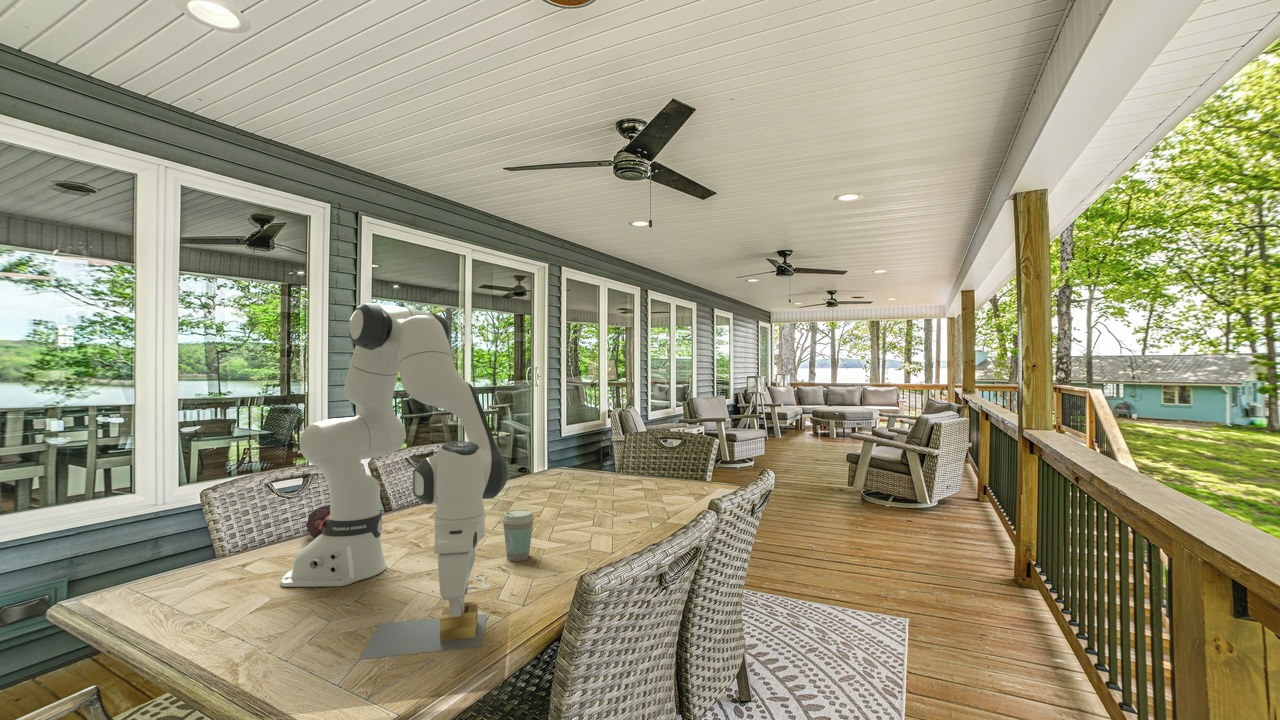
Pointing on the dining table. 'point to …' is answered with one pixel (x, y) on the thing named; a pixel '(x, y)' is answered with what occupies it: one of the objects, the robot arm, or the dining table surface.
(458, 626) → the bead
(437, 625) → the grey peg stand
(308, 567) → the robot arm
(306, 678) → the dining table surface
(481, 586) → the scissors
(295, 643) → the dining table surface
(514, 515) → the coffee cup
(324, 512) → the pine cone
